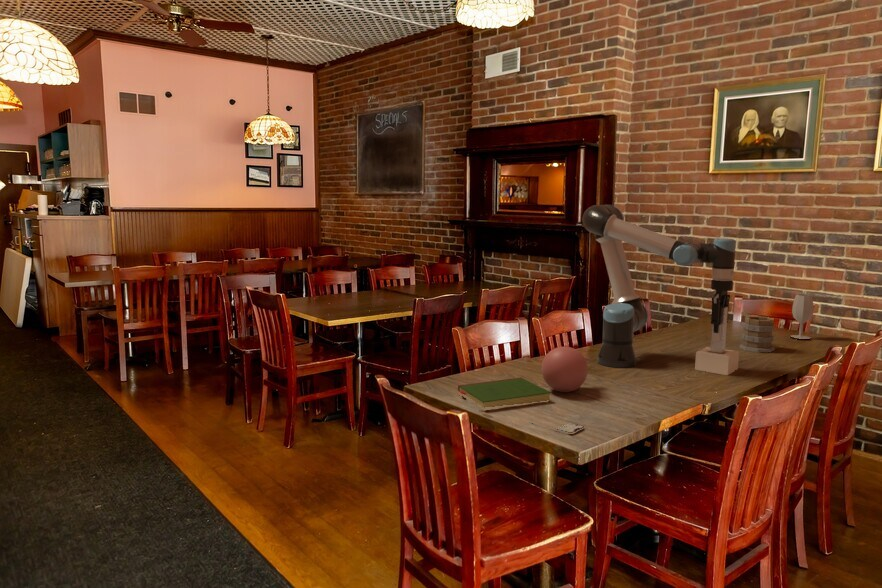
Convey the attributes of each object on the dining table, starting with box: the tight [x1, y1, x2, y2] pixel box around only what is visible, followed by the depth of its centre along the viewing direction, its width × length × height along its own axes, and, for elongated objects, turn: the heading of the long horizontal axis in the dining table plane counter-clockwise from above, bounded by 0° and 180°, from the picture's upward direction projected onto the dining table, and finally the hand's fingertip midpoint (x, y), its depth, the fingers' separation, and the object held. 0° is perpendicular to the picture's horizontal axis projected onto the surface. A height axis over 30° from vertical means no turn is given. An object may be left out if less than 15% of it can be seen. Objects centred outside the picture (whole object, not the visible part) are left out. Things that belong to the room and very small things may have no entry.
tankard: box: [739, 311, 775, 353], centre depth 275 cm, size 20×13×15 cm, turn 179°
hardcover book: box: [457, 377, 552, 408], centre depth 204 cm, size 25×19×4 cm
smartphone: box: [557, 421, 585, 433], centre depth 179 cm, size 7×1×15 cm
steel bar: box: [710, 307, 729, 354], centre depth 237 cm, size 4×4×20 cm
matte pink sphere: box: [541, 346, 591, 393], centre depth 212 cm, size 15×20×15 cm
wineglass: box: [790, 293, 815, 340], centre depth 293 cm, size 9×9×21 cm
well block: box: [694, 346, 740, 376], centre depth 239 cm, size 12×12×7 cm
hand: (718, 339), depth 238 cm, fingers closed on steel bar, 4 cm apart
